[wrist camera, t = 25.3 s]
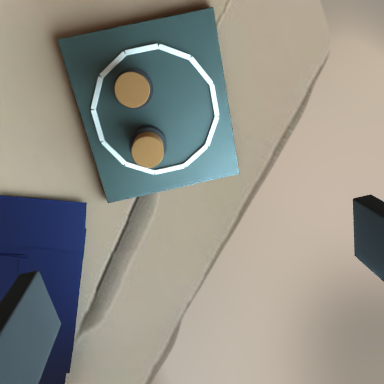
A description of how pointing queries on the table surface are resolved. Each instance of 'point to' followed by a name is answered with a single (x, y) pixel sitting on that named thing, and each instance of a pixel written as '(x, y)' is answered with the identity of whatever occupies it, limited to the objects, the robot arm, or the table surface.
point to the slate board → (155, 102)
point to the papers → (46, 263)
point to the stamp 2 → (148, 146)
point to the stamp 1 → (133, 88)
